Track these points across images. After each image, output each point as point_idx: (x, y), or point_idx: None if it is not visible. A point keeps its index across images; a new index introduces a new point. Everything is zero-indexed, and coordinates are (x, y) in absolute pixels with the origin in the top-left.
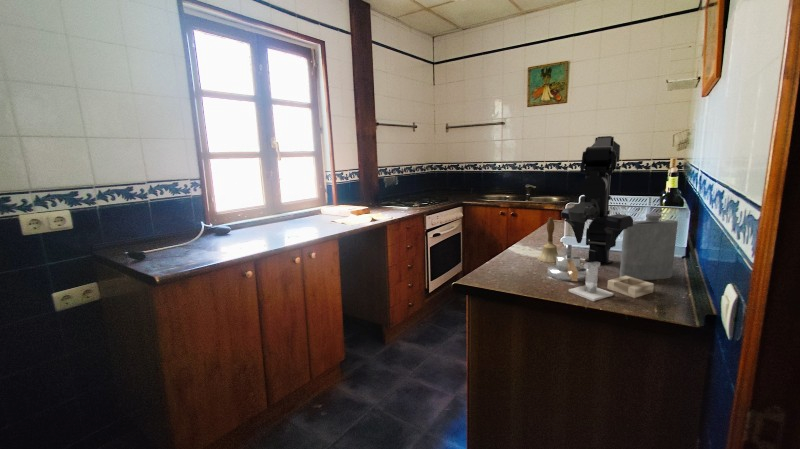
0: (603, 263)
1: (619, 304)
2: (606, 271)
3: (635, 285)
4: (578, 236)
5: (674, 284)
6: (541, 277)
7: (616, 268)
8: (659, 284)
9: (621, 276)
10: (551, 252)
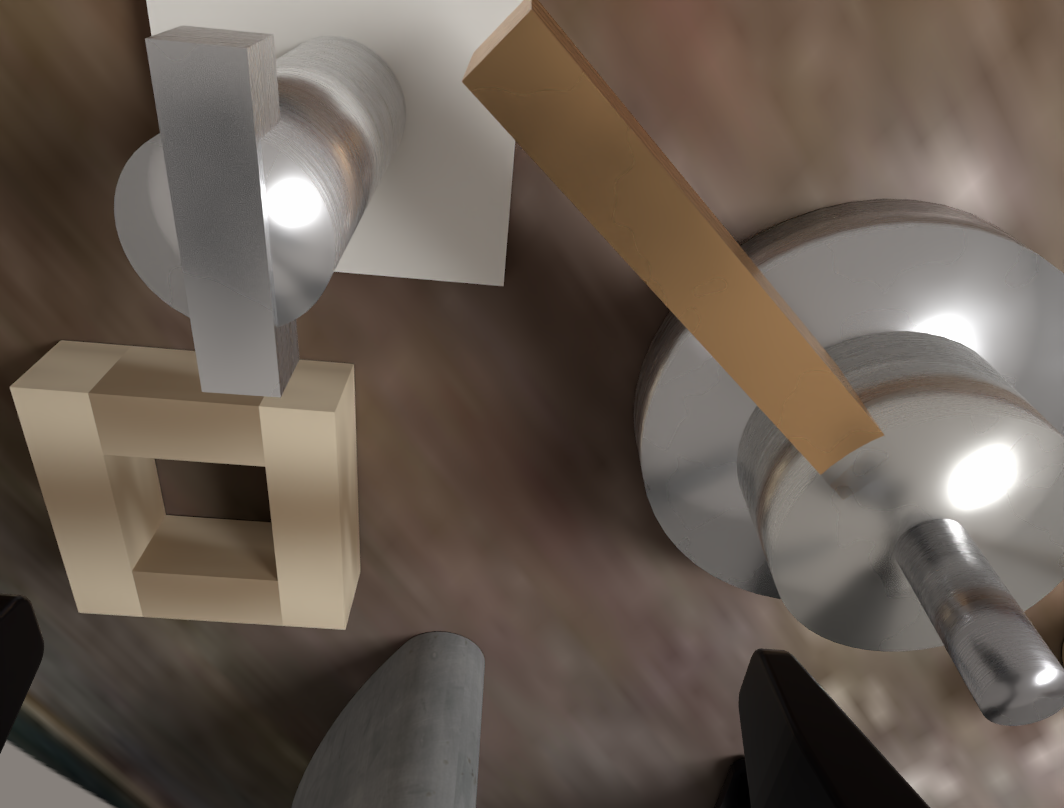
0: (727, 787)
1: None
2: (627, 688)
3: (98, 475)
4: (816, 806)
5: (181, 754)
6: (1058, 97)
7: (614, 772)
8: (224, 702)
9: (448, 649)
10: None
